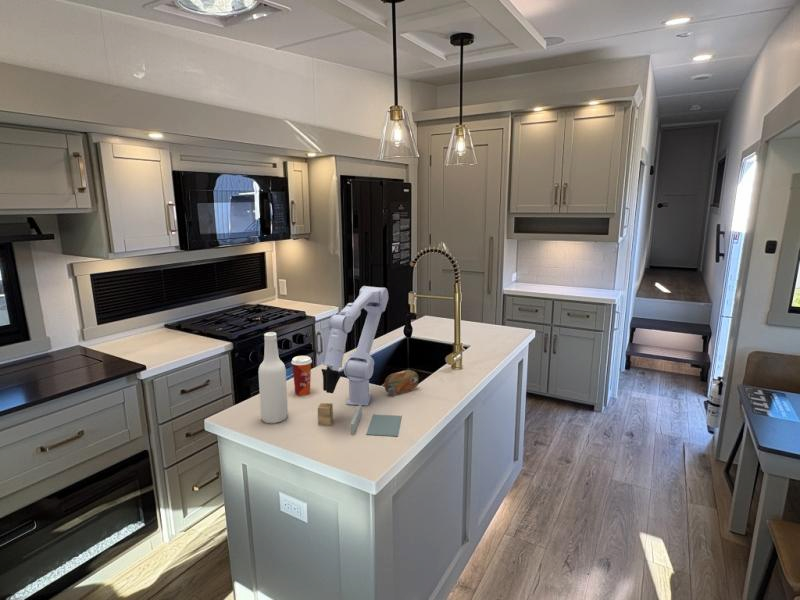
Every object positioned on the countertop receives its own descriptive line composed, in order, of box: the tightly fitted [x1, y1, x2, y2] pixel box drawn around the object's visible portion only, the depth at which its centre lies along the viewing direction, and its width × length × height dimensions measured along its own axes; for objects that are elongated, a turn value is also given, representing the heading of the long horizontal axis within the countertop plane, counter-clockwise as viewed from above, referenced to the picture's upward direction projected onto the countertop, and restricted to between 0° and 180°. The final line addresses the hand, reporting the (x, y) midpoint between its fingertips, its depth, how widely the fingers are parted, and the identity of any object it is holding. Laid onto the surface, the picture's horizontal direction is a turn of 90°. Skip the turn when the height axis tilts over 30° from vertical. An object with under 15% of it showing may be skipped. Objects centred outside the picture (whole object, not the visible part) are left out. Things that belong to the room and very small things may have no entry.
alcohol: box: [257, 331, 289, 424], centre depth 151 cm, size 9×9×30 cm
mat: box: [365, 413, 403, 438], centre depth 149 cm, size 14×10×1 cm
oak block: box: [317, 402, 334, 426], centre depth 151 cm, size 4×4×6 cm
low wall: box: [350, 405, 363, 435], centre depth 150 cm, size 14×1×4 cm, turn 175°
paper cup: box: [290, 355, 313, 396], centre depth 174 cm, size 8×8×14 cm
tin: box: [383, 369, 420, 397], centre depth 176 cm, size 15×3×8 cm, turn 124°
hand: (328, 391), depth 147 cm, fingers open, 7 cm apart
